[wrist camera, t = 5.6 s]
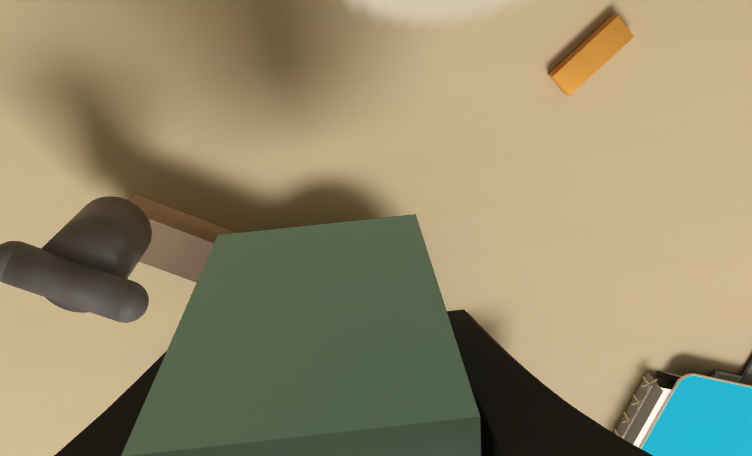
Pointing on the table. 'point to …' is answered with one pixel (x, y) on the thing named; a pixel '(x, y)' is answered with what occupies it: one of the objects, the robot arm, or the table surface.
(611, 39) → the crank base
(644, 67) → the table surface
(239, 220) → the table surface
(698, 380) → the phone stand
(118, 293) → the crank
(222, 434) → the block
